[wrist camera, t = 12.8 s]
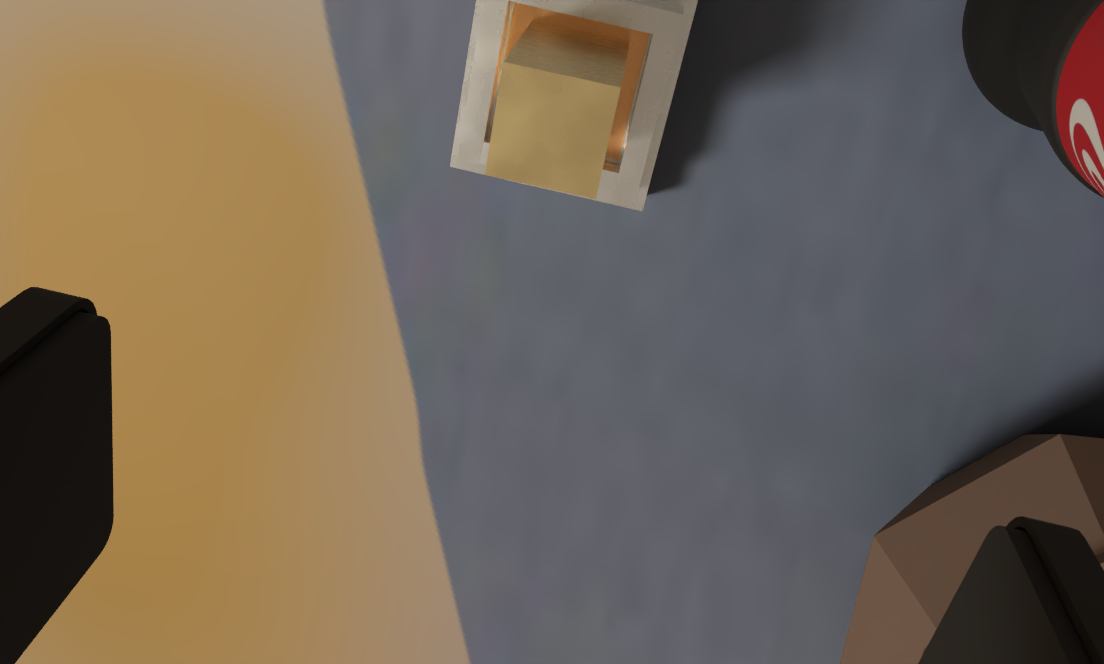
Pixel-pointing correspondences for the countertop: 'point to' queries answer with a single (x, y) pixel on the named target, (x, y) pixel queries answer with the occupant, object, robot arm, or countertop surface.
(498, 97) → the square wooden post
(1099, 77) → the cola bottle
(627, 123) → the white boxy piece
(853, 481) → the countertop surface
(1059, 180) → the countertop surface
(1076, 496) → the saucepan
